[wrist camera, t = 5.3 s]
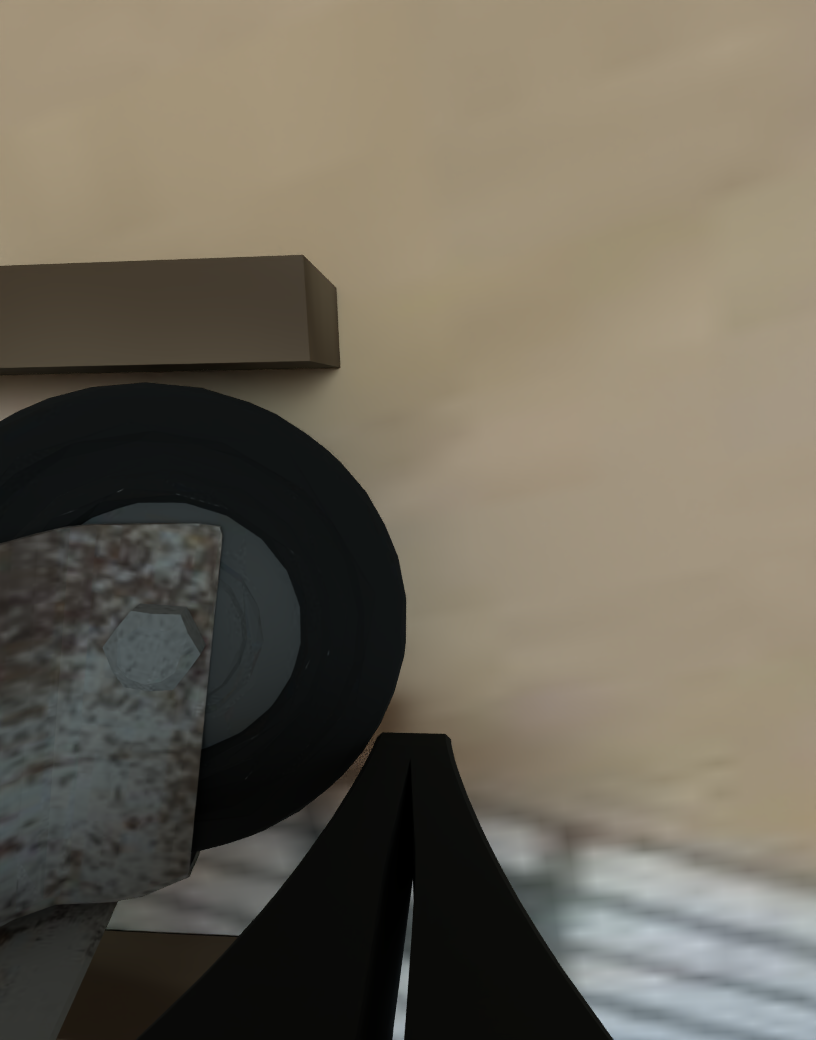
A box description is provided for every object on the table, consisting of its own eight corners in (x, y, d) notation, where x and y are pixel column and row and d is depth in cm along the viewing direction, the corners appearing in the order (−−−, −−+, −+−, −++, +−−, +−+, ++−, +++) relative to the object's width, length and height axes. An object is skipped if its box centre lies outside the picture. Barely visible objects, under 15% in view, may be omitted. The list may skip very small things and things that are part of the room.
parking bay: (370, 983, 15) (346, 1198, 11) (-69, 959, 15) (-240, 1150, 11) (336, 287, 10) (270, 222, 6) (-291, 308, 11) (-702, 261, 7)
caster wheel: (398, 435, 13) (349, 789, 14) (-106, 357, 11) (-119, 780, 12) (477, 416, 7) (375, 1076, 8) (-724, 217, 4) (-634, 1165, 6)
